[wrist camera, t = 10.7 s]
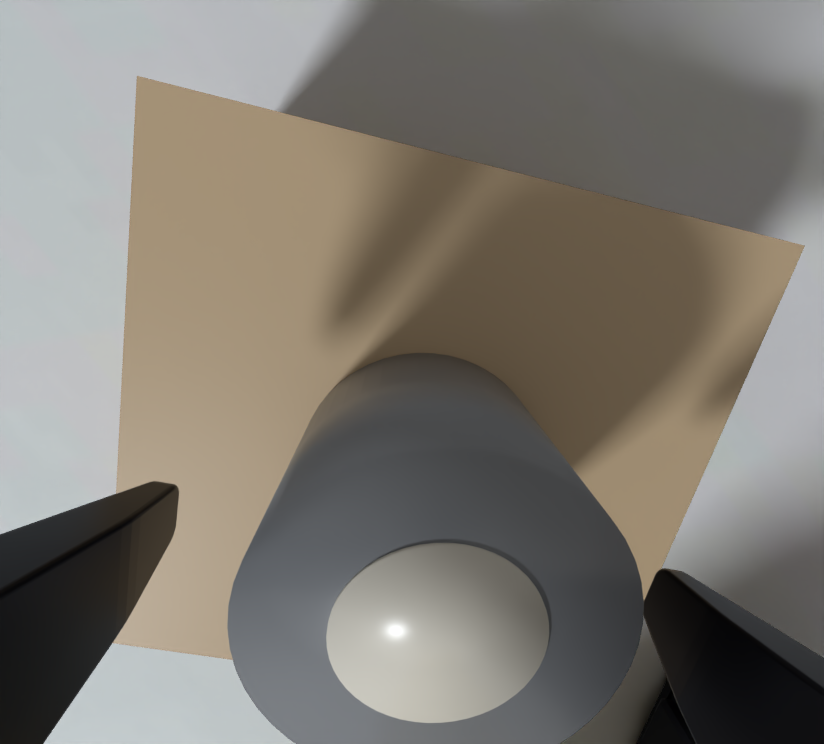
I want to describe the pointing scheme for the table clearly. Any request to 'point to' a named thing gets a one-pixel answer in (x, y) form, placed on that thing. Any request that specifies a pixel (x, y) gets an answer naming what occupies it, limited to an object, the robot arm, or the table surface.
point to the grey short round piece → (432, 572)
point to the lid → (404, 323)
